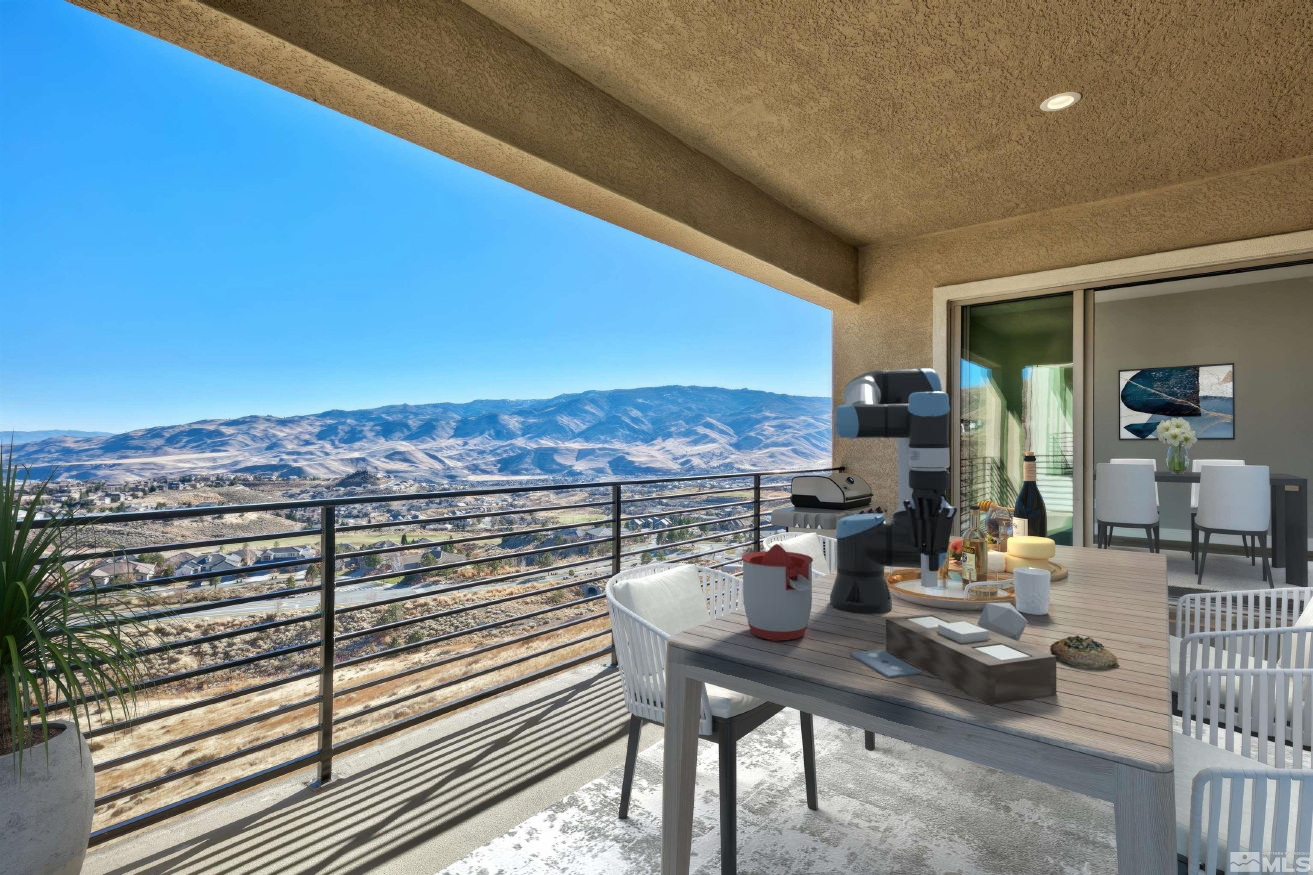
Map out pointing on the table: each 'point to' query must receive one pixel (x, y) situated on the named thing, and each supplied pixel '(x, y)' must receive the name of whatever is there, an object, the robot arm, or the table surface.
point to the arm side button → (927, 621)
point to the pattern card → (885, 663)
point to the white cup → (1032, 590)
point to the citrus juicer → (777, 593)
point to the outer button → (1002, 652)
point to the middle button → (963, 632)
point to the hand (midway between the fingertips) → (929, 585)
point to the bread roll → (1083, 652)
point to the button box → (973, 661)
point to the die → (1003, 620)
